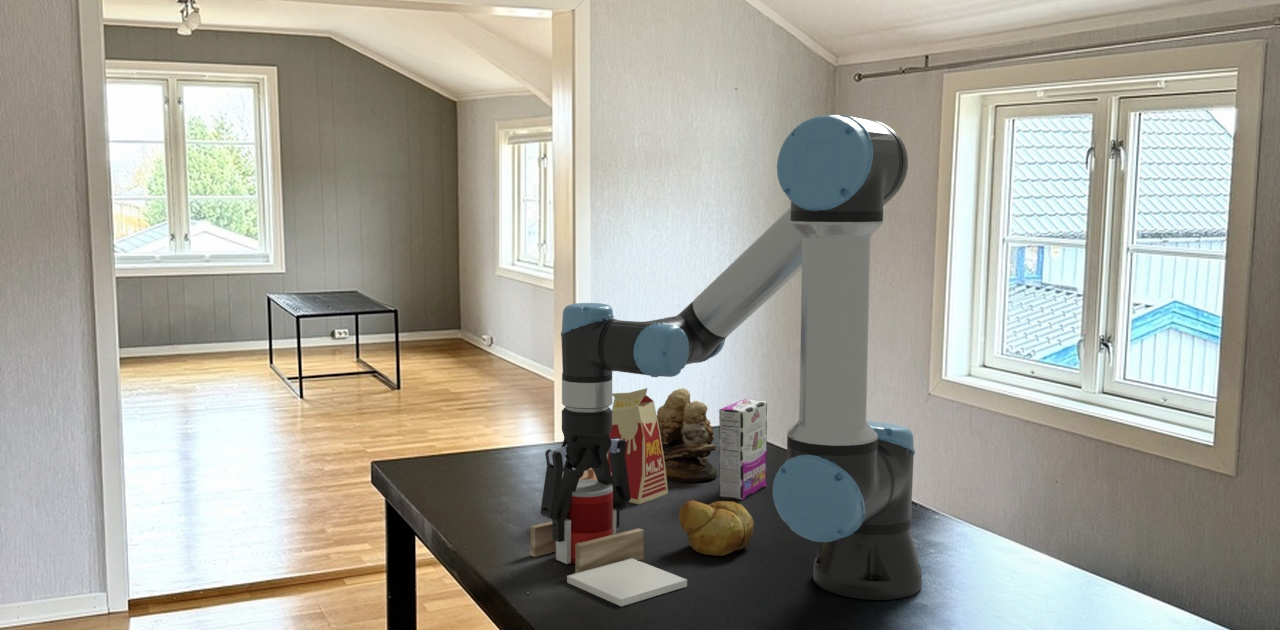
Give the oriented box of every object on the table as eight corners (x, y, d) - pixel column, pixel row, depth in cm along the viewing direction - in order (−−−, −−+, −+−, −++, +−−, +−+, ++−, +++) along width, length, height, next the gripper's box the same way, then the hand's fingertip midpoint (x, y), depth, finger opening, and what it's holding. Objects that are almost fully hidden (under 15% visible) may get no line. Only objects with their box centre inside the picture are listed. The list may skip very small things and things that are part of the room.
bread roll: (723, 532, 185) (724, 484, 184) (772, 545, 178) (773, 495, 178) (672, 550, 175) (672, 499, 175) (721, 564, 169) (722, 512, 168)
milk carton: (668, 493, 208) (669, 385, 206) (641, 505, 200) (641, 393, 198) (626, 486, 213) (627, 380, 210) (598, 497, 205) (598, 387, 203)
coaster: (687, 586, 159) (687, 579, 159) (621, 606, 151) (621, 599, 151) (631, 564, 168) (631, 558, 168) (567, 582, 160) (567, 575, 160)
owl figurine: (735, 479, 218) (737, 392, 216) (685, 488, 212) (686, 398, 210) (681, 460, 233) (682, 378, 231) (633, 467, 227) (633, 383, 225)
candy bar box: (742, 483, 215) (744, 398, 213) (767, 487, 213) (768, 400, 211) (716, 497, 205) (718, 407, 204) (742, 501, 203) (743, 410, 201)
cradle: (643, 559, 171) (643, 530, 170) (580, 576, 163) (580, 546, 163) (592, 539, 180) (592, 511, 180) (530, 554, 172) (530, 526, 172)
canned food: (623, 556, 172) (623, 485, 171) (585, 569, 166) (585, 496, 165) (587, 545, 177) (587, 476, 176) (549, 557, 171) (549, 486, 170)
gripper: (624, 395, 179) (623, 535, 181) (514, 411, 165) (515, 563, 168) (656, 402, 173) (654, 547, 176) (544, 420, 159) (545, 576, 162)
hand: (586, 555), depth 172 cm, fingers closed on canned food, 8 cm apart
